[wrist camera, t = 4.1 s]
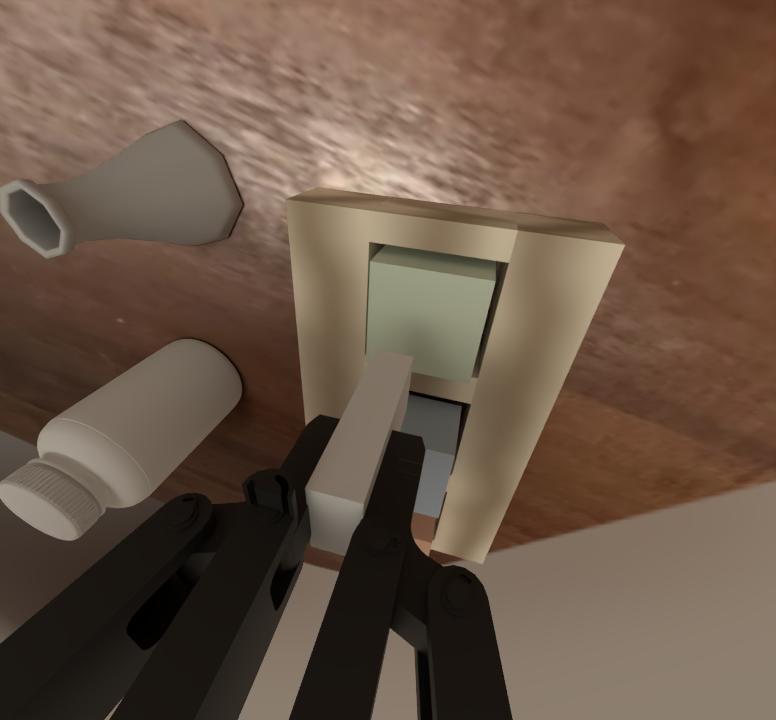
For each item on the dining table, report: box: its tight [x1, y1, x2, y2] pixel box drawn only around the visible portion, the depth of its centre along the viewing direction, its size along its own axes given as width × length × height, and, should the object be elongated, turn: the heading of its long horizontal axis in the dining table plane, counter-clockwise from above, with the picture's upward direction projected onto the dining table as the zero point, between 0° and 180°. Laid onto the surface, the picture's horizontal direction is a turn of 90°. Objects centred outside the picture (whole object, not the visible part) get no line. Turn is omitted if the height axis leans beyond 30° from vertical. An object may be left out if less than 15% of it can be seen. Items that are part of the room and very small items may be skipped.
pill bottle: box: [0, 339, 242, 540], centre depth 27 cm, size 8×8×15 cm
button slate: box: [400, 395, 462, 518], centre depth 23 cm, size 6×6×4 cm
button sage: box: [366, 244, 496, 384], centre depth 20 cm, size 6×6×4 cm
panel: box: [286, 188, 625, 564], centre depth 26 cm, size 16×28×4 cm, turn 176°
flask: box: [0, 120, 243, 259], centre depth 19 cm, size 7×7×10 cm
